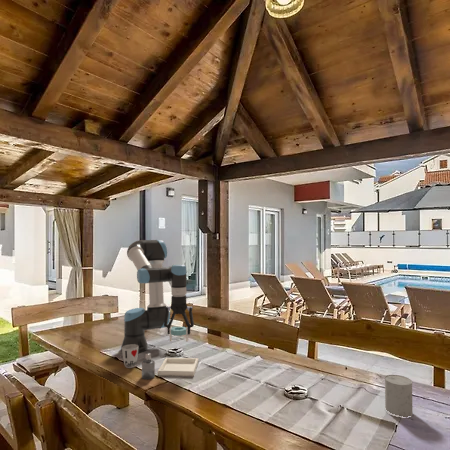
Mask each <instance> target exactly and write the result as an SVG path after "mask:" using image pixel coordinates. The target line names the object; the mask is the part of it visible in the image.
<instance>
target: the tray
mask: <svg viewBox="0 0 450 450" xmlns="http://www.w3.org/2000/svg"><path fill="white" fill-rule="evenodd" d="M198 365H199V357H198V358H196V357H195V358H194V357H165V359H164V360H163V362H162V363H161V365H160V367H159V368H158V369H157V376H158V377H184V378H185V377H193V378H194V377H195V375H196V372H197V368H198Z"/></svg>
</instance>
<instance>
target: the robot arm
mask: <svg viewBox="0 0 450 450" xmlns="http://www.w3.org/2000/svg"><path fill="white" fill-rule="evenodd" d="M167 248H168V247H167V244H166V243H165V241H164V240H161V239H149V240H147V239H146V240H145V239H141V240H136V241H134V242H132V243H131V244H129V246H128V247H127V249H126V255H127V256H126V257H127V258H128V259H129V261H130V262H132V263H133V264H134V266H135V268H136V270H137V271H136V280H137V282H138V283H139V284H145V285H146V284H148V297H149V298H148V301H149V303H148V305H147V306H146V309H145V308H143V307H136V308H135V307H134V308H131V309H129V310H126V312H125V313H124V316H123V318H124V319H123V321H124V322H123V323H124V327H123V328H124V329H123V331H124V332H123V333H124V335H123V336H124V337H123V340H122V343H121V347H120V350H121V352H122V347H123V346H125V345H130V344H135V345H138V354H139V353H142V352H145V351H147V350H148V342H147V338H146V336H145V333H146V332H145V331H148V330H157V329H159V330H160V329H163V328H166V329H167V335H169V342H172V341H173V335H172V334H171V329H172V327H173V326H172V324H173V322H174V319H175V317H176V315H182V317H183V320H184V322H185V325H186V335H185V342H188V341H189V335H190V334H191V328H193V327H194V325H195V323H194V322H195V321H194V316H193V308H194V307H193V306H192V305H191V306H188V304H187V272H188V271H187V266H186V265H185V264H173V265H172V266H166V267H163V263H164V262H165V259H166V258H167V257H168V249H167ZM166 282H167V283H168V282H171V283H170V284H171V288H170V289H171V293H170V294H171V296H170V297H171V300H170V301H171V303H170V306H167V304H166V303H165V301H164V283H166ZM170 311H172V314H171V312H170ZM186 311H187V312H188V315H189V319H188V316H187V313H186Z"/></svg>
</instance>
